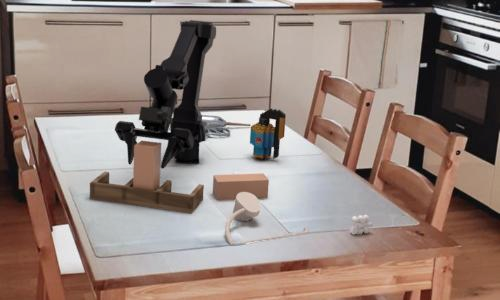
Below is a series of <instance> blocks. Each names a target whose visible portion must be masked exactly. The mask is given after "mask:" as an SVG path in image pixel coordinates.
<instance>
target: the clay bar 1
mask: <svg viewBox="0 0 500 300" xmlns="http://www.w3.org/2000/svg"><path fill="white" fill-rule="evenodd" d="M161 157H162V142H157V141H156V142H155V141H149V140H140V141H139V142H137V144H136V145H134V158H133V173H132V174H133V175H132V176H133V177H132V178H133V187H134V188H141V189H148V190H157V189H158V188H159V187H160V186H161V163H162V158H161Z"/></svg>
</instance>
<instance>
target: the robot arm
mask: <svg viewBox="0 0 500 300" xmlns="http://www.w3.org/2000/svg"><path fill="white" fill-rule="evenodd" d="M216 36H217V27H216V25H213V22H212V21H204V20H203V21H202V20H192V19H190V20H189V21H188V20H186V21H182V22H181V25H180V32H179V34H178V37H177V39H176V41H175V44H174V45H173V48H172V51H171V53H170V55H169V56H168V57H167V58H165V59H163V60H162V62H161V63H160V64H156V65H155V68H152V69H150V70H148V71H147V72H146V73H145V75H144V77H143V81H144V84H145V86H146V87H145V88H146V89H147V91H148V93H149V95H150V96H149V97H150V98H152V102H151V106H140V111H139V114H138V115H139V116H138V121H141V125H142V127H144V128H139V127H136V126H135V122H133V121H125V120H124V121H123V120H119V121H118V122H117V123H115V128H114V131H115V133H116V135H117V137H118V139H119V140H120V141H121V142H125V143H124V144H126V147H127V149H126V150H127V162H128V165H132V163H133V162H134V145H136V144H137V143H138V142H137V138H138V137H139V138H147V139H157V140H164V141H167V146H166V149H165V151H164V154H163V157H162V159H161V166H160V169H162V170H163V169H164V168H166V166H167V165H168V164H169V163H170V162H171V161H172V160H173V158H174V159H175V163H177V164H200V143H201V142H202V143H203V142H205V141H206V138H205V136H206V137H207V135H206V134H205V133H206V130H205V128H204V125H203V122H202V115H203V114H202V112H201V110H200V108H199V99H200V93H201V88H202V87H201V86H202V79H203V74H204V73H203V72H204V65H205V58H206V54H207V53H208V52H209V51H210V50H211V48H212V47H213V45H214V44H213V43H214V40H215V39H216ZM175 90H179V91H181V90H182V94H181V95H182V96H181V103H180V104H179V105H178V106H177V107H176V105H177V104H178V94H177V92H176V91H175ZM169 130H170V131H169Z"/></svg>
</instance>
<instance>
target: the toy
mask: <svg viewBox="0 0 500 300" xmlns="http://www.w3.org/2000/svg"><path fill="white" fill-rule="evenodd" d="M271 120H274V121H275V122H274V123H275V125H273V124H272V123H270V122H271ZM285 129H286V113H284V111H282V110H281V109H276V108H274V109H273V108H271V107H270V108H269V109H267V110H265V111H263V112H262V113H260V115H259V117H258V122H256V123H254V124H252V125H251V126H250V134H249V135H250V136H249V144H250V145H252V146H253V152H252V155H253V156H255V158H256V159H257V160H261V161H265V160H267V159H269V158H270V157H272V160H275V159H276V158H278V157H279V155H280V142H281V141H280V140H281V139H283V138H285ZM272 148H273V153H272ZM272 155H273V156H272Z"/></svg>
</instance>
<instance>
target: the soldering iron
mask: <svg viewBox="0 0 500 300" xmlns="http://www.w3.org/2000/svg"><path fill="white" fill-rule="evenodd" d="M201 115H202V122H203V125H204V128H205V130H206V133H205V134H206V136H205V139H208V137H207V136H208V135H210V136H215V137H228V136H230V135H231V130H230V129H228V128H227V127H226V126H233V127H234V126H240V127H241V126H242V127H251V126H252V125H251V124H250V123H240V122H239V123H238V122H229V121H227V120H225V119H224V118H222V117H221V116H218V115H208V114H207V115H206V114H201ZM222 132H225V133H222Z"/></svg>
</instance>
